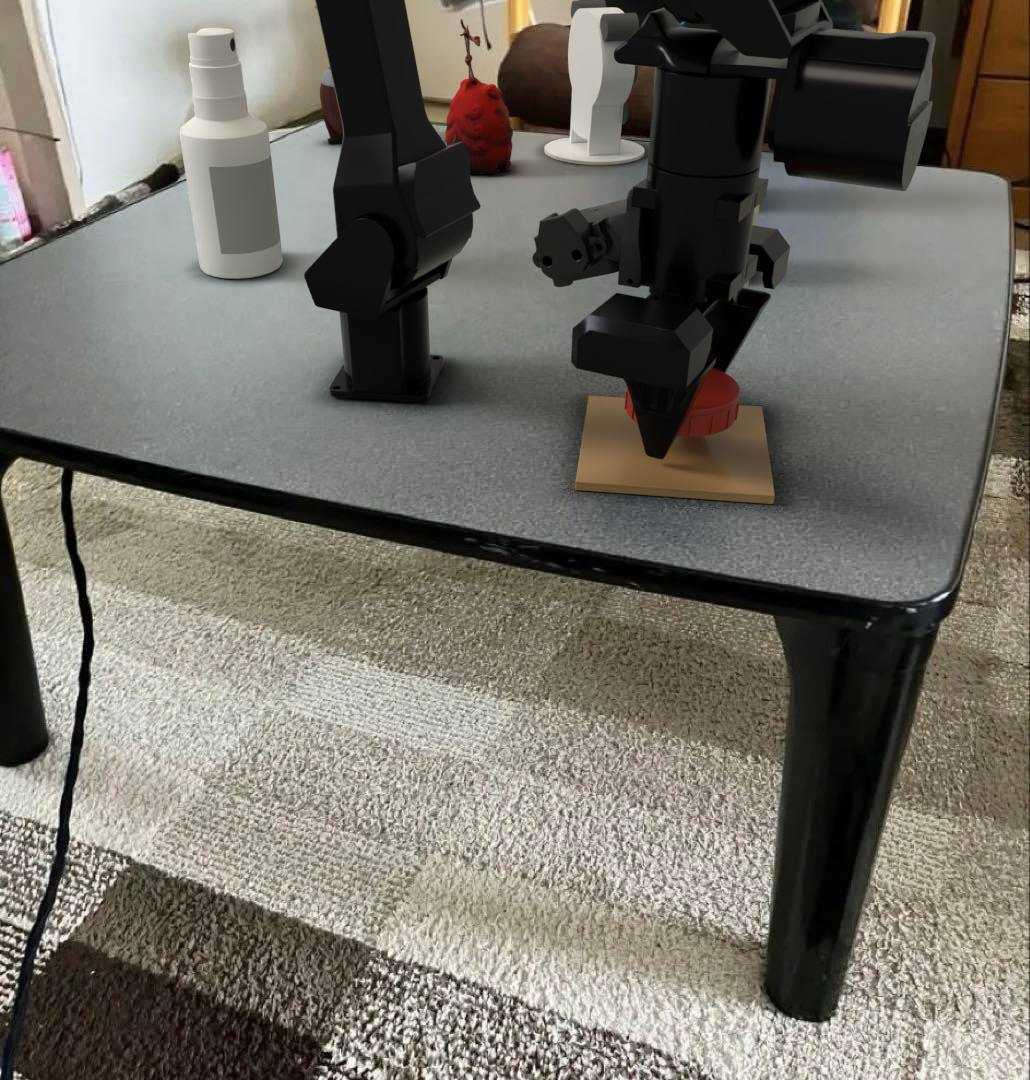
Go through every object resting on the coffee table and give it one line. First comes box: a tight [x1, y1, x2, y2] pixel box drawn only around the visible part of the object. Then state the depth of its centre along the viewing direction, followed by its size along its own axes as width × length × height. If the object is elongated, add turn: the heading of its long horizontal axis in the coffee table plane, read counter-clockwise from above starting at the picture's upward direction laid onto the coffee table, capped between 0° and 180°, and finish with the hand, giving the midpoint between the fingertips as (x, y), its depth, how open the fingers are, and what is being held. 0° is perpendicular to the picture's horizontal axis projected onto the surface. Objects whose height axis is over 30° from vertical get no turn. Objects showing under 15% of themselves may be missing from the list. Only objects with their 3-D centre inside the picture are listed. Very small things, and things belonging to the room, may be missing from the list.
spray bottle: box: [179, 27, 284, 280], centre depth 86 cm, size 7×7×18 cm
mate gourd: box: [314, 5, 343, 145], centre depth 121 cm, size 8×8×15 cm
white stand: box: [543, 0, 646, 166], centre depth 119 cm, size 12×11×15 cm
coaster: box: [574, 395, 776, 505], centre depth 65 cm, size 11×11×1 cm
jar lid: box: [624, 368, 741, 437], centre depth 63 cm, size 6×6×2 cm
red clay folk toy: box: [444, 18, 514, 175], centre depth 112 cm, size 8×7×15 cm
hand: (675, 432), depth 64 cm, fingers closed on jar lid, 6 cm apart
